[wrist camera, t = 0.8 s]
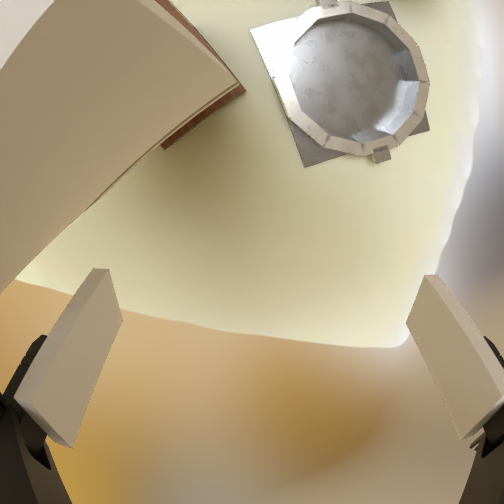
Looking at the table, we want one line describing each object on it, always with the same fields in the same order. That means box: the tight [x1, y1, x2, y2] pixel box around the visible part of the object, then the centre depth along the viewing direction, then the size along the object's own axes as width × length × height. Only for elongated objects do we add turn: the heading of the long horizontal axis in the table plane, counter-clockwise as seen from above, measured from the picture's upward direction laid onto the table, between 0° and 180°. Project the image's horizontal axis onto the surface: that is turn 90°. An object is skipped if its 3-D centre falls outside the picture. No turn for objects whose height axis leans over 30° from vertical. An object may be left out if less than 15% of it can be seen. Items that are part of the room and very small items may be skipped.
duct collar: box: [250, 0, 430, 167], centre depth 28 cm, size 21×18×4 cm
